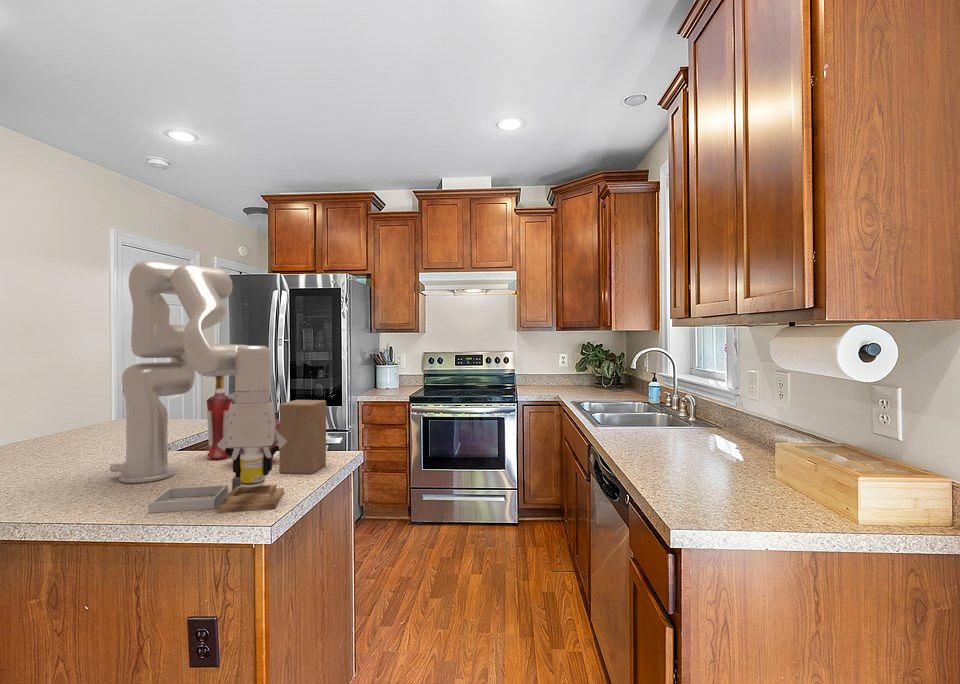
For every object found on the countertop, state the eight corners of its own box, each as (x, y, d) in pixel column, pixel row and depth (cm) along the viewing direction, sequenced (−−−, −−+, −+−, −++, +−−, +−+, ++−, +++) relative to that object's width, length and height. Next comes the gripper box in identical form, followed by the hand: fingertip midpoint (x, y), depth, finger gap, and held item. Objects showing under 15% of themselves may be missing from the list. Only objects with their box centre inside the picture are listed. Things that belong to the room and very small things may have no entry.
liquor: (209, 456, 161) (209, 370, 161) (233, 454, 163) (234, 370, 163) (204, 461, 154) (204, 372, 154) (229, 459, 156) (230, 371, 156)
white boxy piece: (232, 495, 121) (232, 479, 121) (238, 488, 127) (238, 472, 127) (258, 493, 122) (258, 477, 122) (263, 486, 128) (263, 471, 128)
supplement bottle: (245, 481, 119) (245, 440, 118) (268, 481, 119) (268, 440, 119) (236, 488, 113) (236, 445, 113) (260, 487, 114) (260, 445, 114)
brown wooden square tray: (217, 512, 109) (217, 500, 109) (231, 495, 121) (231, 484, 121) (275, 508, 112) (275, 496, 112) (283, 492, 123) (283, 482, 123)
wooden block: (326, 465, 150) (326, 400, 150) (312, 474, 140) (312, 404, 140) (295, 464, 151) (295, 399, 151) (278, 473, 141) (278, 403, 141)
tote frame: (148, 513, 108) (148, 503, 108) (168, 497, 119) (168, 488, 119) (214, 508, 111) (214, 499, 111) (227, 493, 122) (227, 484, 122)
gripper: (207, 400, 110) (207, 481, 111) (289, 398, 114) (288, 476, 114) (217, 397, 118) (217, 472, 118) (293, 395, 122) (293, 468, 122)
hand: (252, 473), depth 116 cm, fingers closed on supplement bottle, 5 cm apart
